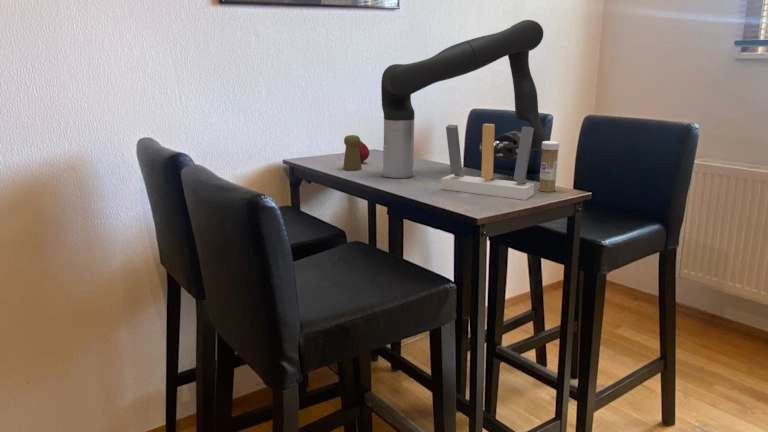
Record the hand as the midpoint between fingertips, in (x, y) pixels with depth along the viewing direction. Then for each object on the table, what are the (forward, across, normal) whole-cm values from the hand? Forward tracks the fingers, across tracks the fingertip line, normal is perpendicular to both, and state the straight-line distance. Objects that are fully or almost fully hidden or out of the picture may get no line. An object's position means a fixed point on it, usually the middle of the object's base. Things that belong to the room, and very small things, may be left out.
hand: (489, 152), depth 160 cm
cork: (-8, -49, +11) cm, 51 cm away
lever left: (0, -9, +6) cm, 11 cm away
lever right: (+1, +9, +6) cm, 11 cm away
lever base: (0, 0, +11) cm, 11 cm away
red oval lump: (-18, -53, +11) cm, 57 cm away
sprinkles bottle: (-10, +14, +11) cm, 20 cm away
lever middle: (0, 0, +6) cm, 6 cm away
